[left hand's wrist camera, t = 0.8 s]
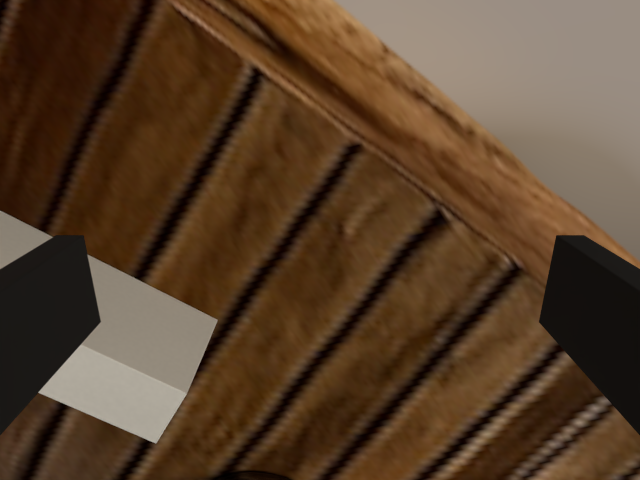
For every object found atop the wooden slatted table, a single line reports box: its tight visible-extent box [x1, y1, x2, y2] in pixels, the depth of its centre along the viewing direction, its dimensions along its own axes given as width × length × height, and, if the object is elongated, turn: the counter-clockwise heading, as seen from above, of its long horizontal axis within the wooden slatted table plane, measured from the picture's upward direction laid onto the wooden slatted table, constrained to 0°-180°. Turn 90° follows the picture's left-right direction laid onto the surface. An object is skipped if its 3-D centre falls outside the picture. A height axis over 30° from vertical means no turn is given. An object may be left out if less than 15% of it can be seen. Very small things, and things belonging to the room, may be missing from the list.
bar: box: [0, 211, 218, 443], centre depth 33 cm, size 26×5×10 cm, turn 59°
